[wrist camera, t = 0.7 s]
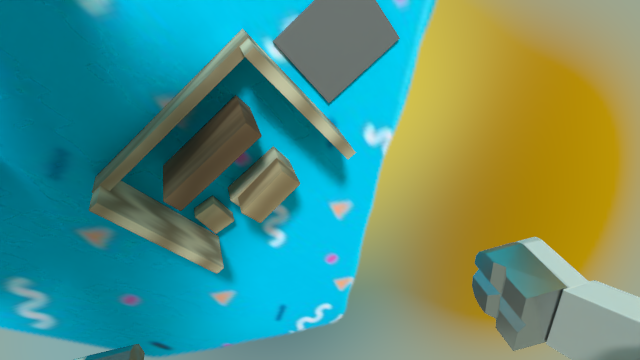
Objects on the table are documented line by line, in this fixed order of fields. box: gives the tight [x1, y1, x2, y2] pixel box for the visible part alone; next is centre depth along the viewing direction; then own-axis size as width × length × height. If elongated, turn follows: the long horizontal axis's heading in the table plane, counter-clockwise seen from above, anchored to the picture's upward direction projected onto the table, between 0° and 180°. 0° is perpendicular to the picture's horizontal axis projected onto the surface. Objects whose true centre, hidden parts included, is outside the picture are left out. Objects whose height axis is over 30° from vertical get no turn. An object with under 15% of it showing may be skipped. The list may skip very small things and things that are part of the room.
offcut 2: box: [228, 147, 293, 206], centre depth 50 cm, size 3×8×3 cm, turn 130°
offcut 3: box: [238, 158, 300, 223], centre depth 47 cm, size 3×7×3 cm, turn 135°
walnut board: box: [163, 95, 261, 211], centre depth 43 cm, size 2×12×7 cm, turn 131°
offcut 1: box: [194, 195, 234, 233], centre depth 51 cm, size 4×3×2 cm
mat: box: [273, 0, 400, 103], centre depth 44 cm, size 10×11×1 cm
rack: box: [89, 29, 356, 273], centre depth 45 cm, size 17×23×6 cm
